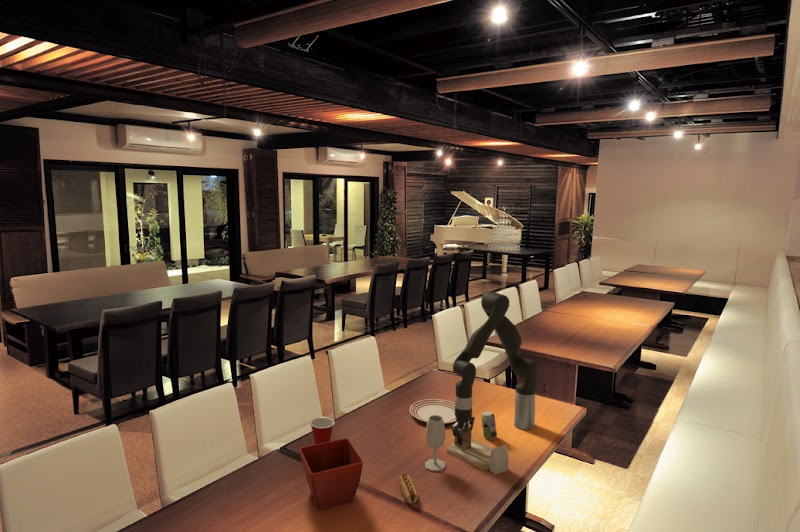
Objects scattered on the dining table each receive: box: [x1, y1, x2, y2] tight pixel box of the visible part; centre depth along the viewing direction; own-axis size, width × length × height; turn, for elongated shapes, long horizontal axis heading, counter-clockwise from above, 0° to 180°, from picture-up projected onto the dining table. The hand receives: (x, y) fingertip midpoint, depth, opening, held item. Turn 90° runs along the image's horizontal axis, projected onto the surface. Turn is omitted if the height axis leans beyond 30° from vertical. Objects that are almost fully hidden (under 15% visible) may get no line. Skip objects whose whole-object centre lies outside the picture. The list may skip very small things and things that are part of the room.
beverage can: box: [480, 410, 498, 440], centre depth 225 cm, size 6×7×12 cm
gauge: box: [453, 428, 472, 450], centre depth 214 cm, size 4×8×8 cm, turn 44°
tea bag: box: [488, 444, 510, 475], centre depth 198 cm, size 4×7×10 cm, turn 116°
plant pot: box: [299, 437, 364, 511], centre depth 180 cm, size 19×19×17 cm
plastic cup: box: [309, 417, 335, 445], centre depth 216 cm, size 11×11×12 cm
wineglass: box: [424, 415, 446, 472], centre depth 200 cm, size 9×9×21 cm
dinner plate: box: [409, 398, 456, 425], centre depth 248 cm, size 28×27×3 cm
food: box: [398, 473, 419, 505], centre depth 183 cm, size 14×6×5 cm, turn 13°
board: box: [446, 438, 493, 471], centre depth 210 cm, size 14×20×2 cm
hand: (462, 442), depth 214 cm, fingers closed on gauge, 4 cm apart
